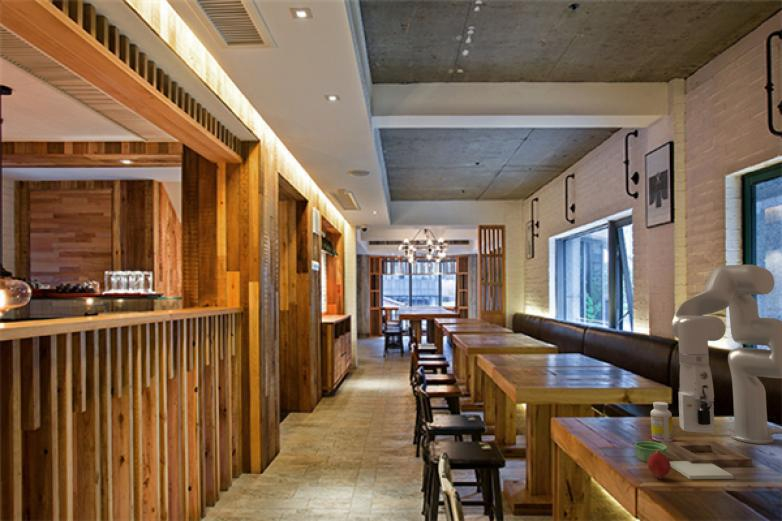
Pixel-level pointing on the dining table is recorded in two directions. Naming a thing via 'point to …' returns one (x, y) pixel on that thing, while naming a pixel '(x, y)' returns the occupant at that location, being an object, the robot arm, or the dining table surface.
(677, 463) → the cream square tile
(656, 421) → the supplement bottle
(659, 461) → the onion
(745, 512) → the dining table surface
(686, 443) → the holder block
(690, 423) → the small box
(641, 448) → the ramekin
